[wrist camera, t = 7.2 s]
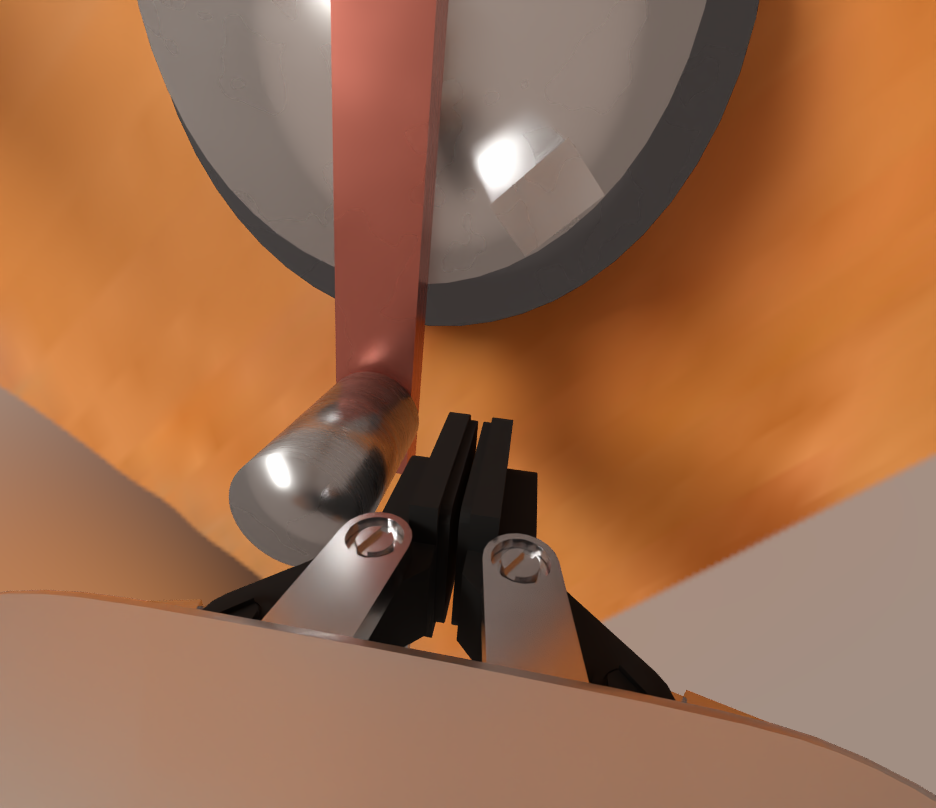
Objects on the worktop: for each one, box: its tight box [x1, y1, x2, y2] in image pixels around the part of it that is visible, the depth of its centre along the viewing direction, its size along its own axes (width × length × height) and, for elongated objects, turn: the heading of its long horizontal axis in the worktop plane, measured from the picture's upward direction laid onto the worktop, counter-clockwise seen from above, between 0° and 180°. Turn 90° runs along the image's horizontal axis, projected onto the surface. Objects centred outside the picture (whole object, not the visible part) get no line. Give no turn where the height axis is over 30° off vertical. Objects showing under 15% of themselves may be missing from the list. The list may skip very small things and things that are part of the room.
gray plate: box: [171, 0, 759, 326], centre depth 14 cm, size 18×18×3 cm
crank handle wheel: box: [138, 0, 706, 566], centre depth 10 cm, size 14×20×9 cm
